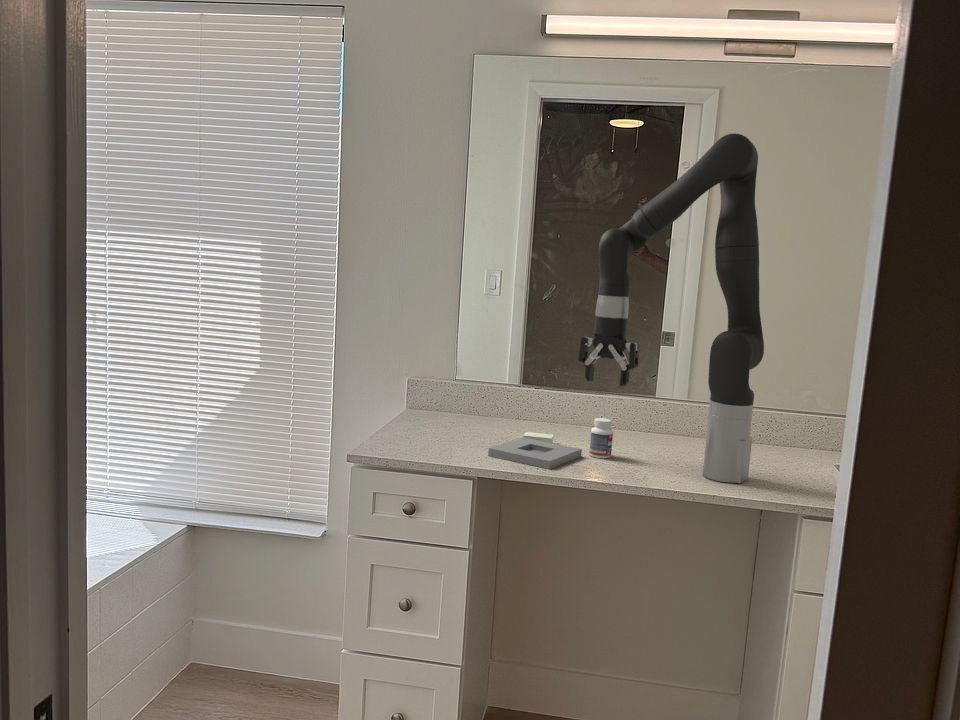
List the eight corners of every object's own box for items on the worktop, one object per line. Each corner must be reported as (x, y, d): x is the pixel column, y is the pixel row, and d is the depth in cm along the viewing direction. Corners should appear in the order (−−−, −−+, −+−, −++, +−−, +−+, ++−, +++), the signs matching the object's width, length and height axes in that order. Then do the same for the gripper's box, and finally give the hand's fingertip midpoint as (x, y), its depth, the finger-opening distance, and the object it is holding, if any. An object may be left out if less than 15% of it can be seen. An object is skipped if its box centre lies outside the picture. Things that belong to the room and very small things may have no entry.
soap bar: (552, 444, 216) (553, 434, 215) (550, 448, 211) (551, 438, 211) (525, 441, 217) (526, 431, 216) (522, 445, 212) (523, 435, 212)
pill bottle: (610, 459, 202) (613, 423, 201) (588, 457, 203) (591, 420, 202) (611, 454, 207) (614, 418, 206) (589, 452, 208) (592, 416, 207)
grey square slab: (581, 456, 203) (581, 449, 203) (548, 469, 190) (549, 461, 190) (523, 444, 212) (523, 437, 211) (488, 455, 198) (488, 448, 198)
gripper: (646, 317, 200) (640, 386, 202) (591, 311, 207) (585, 377, 209) (633, 318, 193) (627, 389, 196) (577, 312, 201) (571, 380, 203)
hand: (606, 383), depth 202 cm, fingers open, 8 cm apart
